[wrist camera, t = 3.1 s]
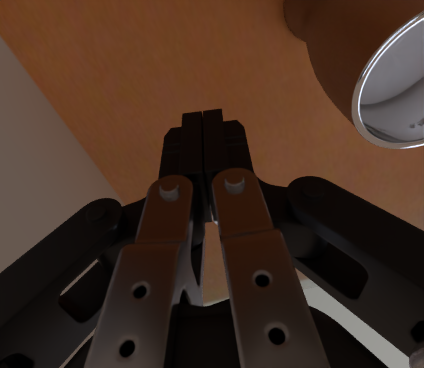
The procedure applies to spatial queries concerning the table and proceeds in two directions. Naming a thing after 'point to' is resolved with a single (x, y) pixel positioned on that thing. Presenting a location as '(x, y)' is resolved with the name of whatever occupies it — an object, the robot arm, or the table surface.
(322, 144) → the table surface
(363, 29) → the beer glass
